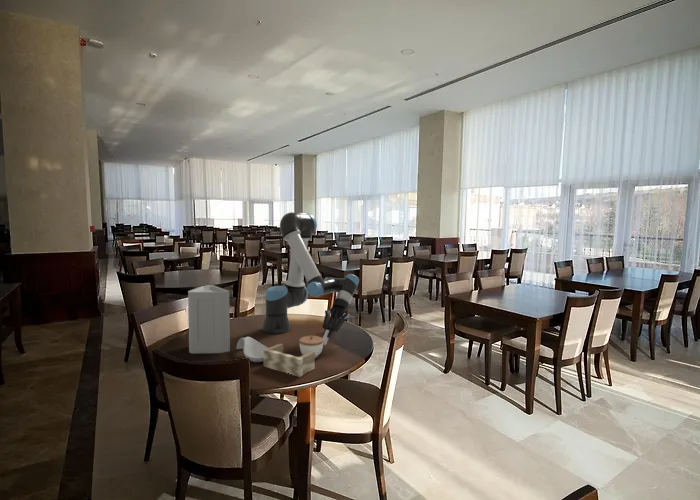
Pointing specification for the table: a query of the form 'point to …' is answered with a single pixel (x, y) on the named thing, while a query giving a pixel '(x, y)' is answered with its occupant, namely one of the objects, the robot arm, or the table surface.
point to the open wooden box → (288, 361)
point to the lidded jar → (311, 344)
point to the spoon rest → (252, 349)
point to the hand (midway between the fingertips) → (323, 343)
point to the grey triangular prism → (209, 320)
